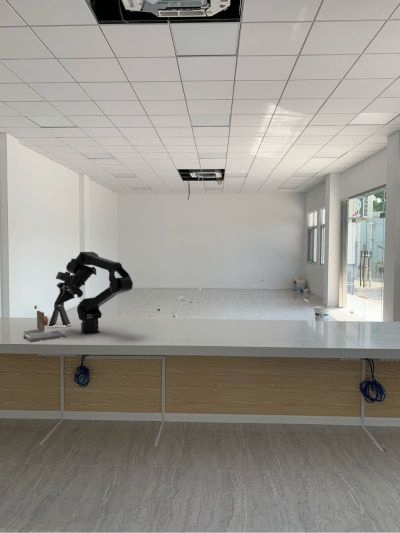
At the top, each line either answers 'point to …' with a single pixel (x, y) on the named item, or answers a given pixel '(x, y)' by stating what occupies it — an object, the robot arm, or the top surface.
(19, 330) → the top surface
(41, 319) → the press plate
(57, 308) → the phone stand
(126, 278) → the robot arm
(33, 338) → the press base
